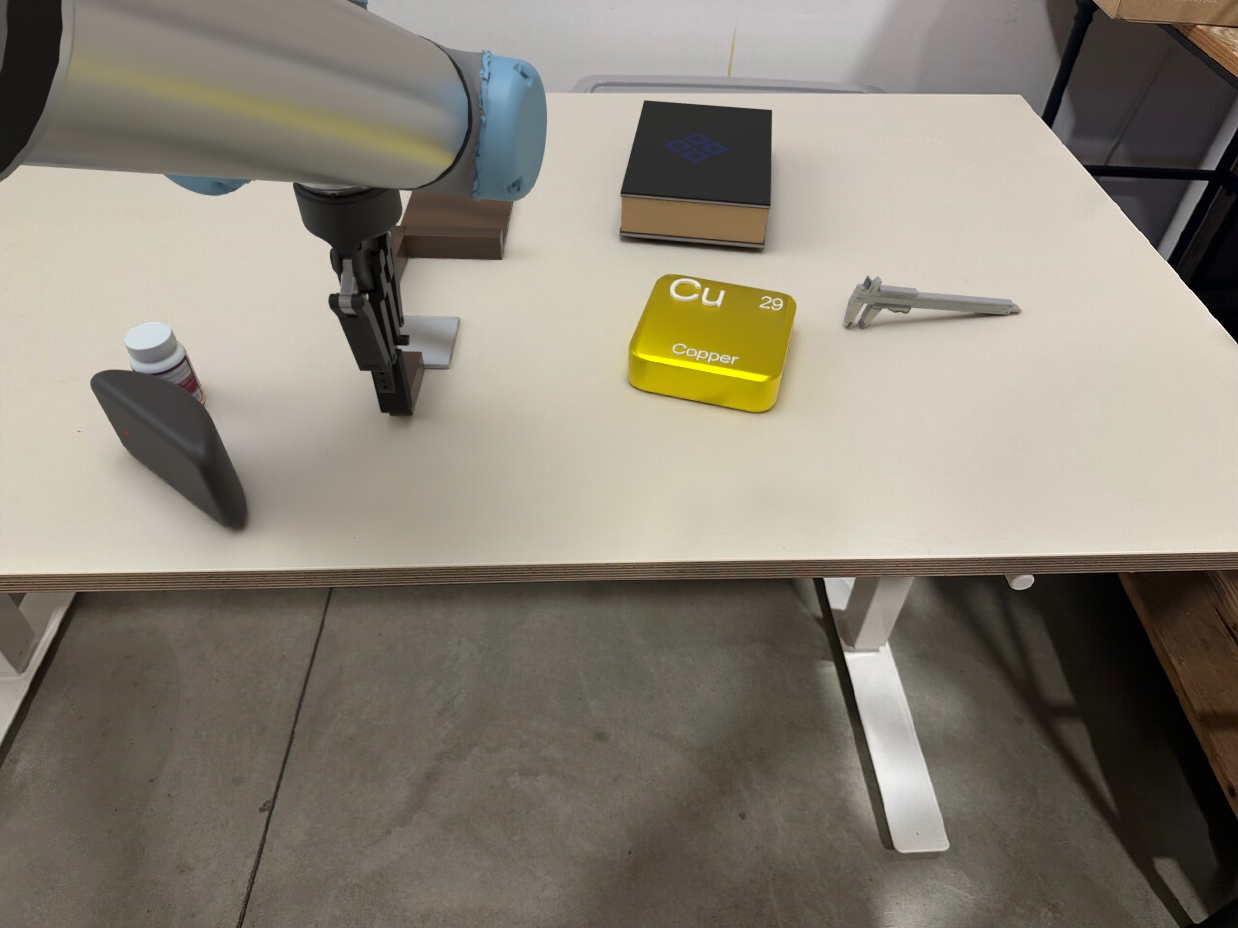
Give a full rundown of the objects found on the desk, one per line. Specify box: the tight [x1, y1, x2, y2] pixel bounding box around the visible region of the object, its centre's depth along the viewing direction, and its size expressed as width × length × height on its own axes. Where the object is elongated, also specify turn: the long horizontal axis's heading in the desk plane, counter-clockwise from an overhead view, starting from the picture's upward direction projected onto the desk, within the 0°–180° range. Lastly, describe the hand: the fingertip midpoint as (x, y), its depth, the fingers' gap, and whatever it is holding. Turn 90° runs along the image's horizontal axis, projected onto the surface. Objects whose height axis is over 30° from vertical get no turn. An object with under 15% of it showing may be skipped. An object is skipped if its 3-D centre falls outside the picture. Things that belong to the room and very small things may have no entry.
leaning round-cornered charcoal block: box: [89, 368, 247, 529], centre depth 73 cm, size 16×5×9 cm, turn 53°
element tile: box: [627, 273, 798, 413], centre depth 88 cm, size 15×15×5 cm
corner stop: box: [394, 191, 514, 284], centre depth 102 cm, size 32×13×3 cm, turn 179°
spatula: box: [388, 314, 461, 416], centre depth 87 cm, size 15×7×2 cm, turn 179°
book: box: [618, 99, 773, 250], centre depth 110 cm, size 17×25×7 cm
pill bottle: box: [123, 321, 206, 406], centre depth 80 cm, size 5×5×8 cm
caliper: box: [843, 275, 1023, 330], centre depth 92 cm, size 20×1×6 cm, turn 100°
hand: (396, 407), depth 81 cm, fingers closed
